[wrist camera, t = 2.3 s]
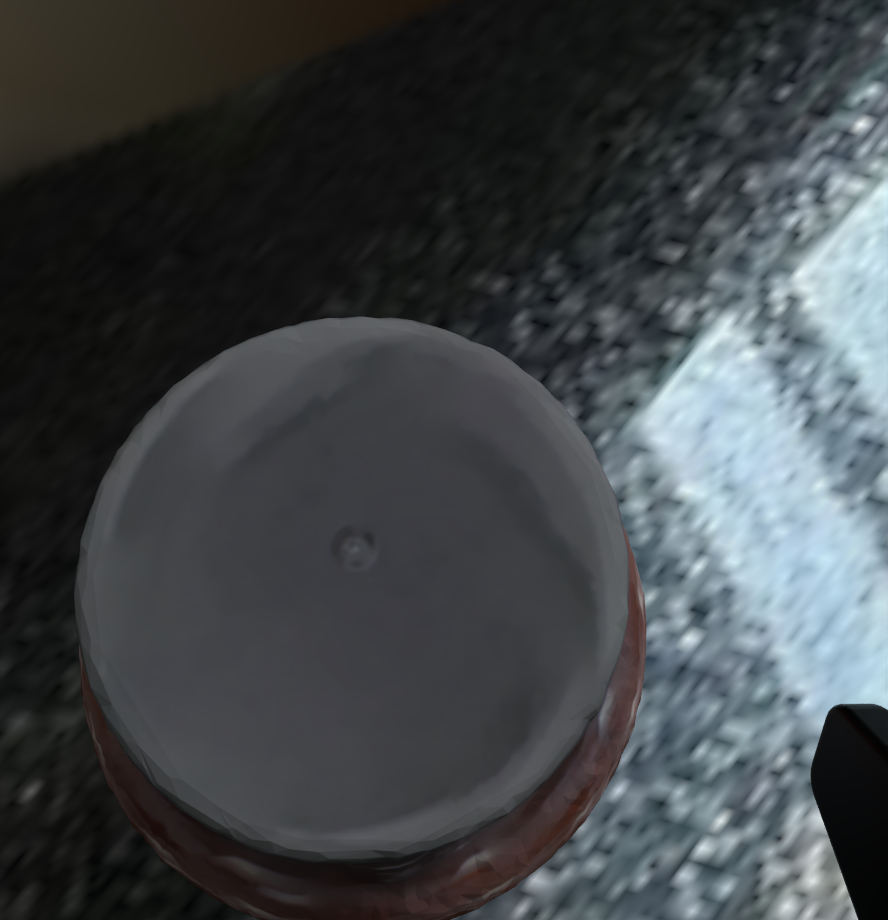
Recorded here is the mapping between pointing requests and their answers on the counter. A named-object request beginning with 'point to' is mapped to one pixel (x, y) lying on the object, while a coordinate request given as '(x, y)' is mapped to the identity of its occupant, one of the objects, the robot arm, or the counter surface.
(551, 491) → the supplement bottle
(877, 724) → the robot arm
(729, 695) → the counter surface
